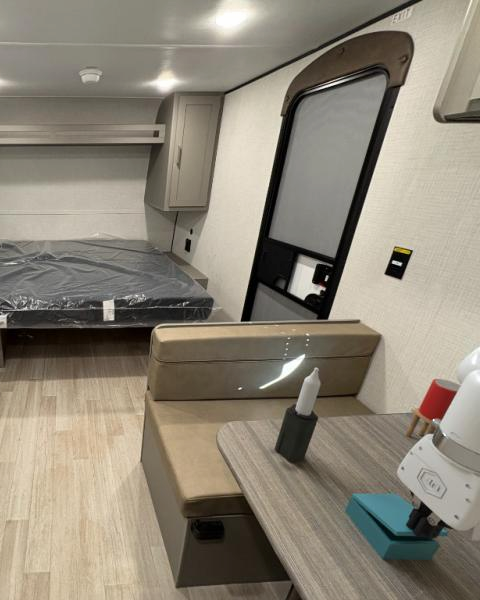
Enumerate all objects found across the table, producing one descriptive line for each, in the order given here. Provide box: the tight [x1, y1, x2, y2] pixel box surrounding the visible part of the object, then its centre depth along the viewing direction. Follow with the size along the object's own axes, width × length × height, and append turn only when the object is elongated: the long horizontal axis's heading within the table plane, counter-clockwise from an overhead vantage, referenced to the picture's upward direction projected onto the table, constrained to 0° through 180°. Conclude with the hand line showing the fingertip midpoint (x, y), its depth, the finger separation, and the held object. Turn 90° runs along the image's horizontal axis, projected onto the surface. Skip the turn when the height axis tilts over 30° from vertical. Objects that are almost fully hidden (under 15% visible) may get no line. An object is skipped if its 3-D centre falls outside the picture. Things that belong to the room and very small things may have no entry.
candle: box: [274, 367, 321, 465], centre depth 73 cm, size 5×5×25 cm
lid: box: [351, 493, 449, 537], centre depth 58 cm, size 9×9×1 cm
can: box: [418, 378, 461, 421], centre depth 77 cm, size 6×6×9 cm
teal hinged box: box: [344, 496, 441, 560], centre depth 59 cm, size 9×9×5 cm
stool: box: [405, 407, 436, 438], centre depth 80 cm, size 6×6×8 cm
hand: (419, 531), depth 54 cm, fingers closed
